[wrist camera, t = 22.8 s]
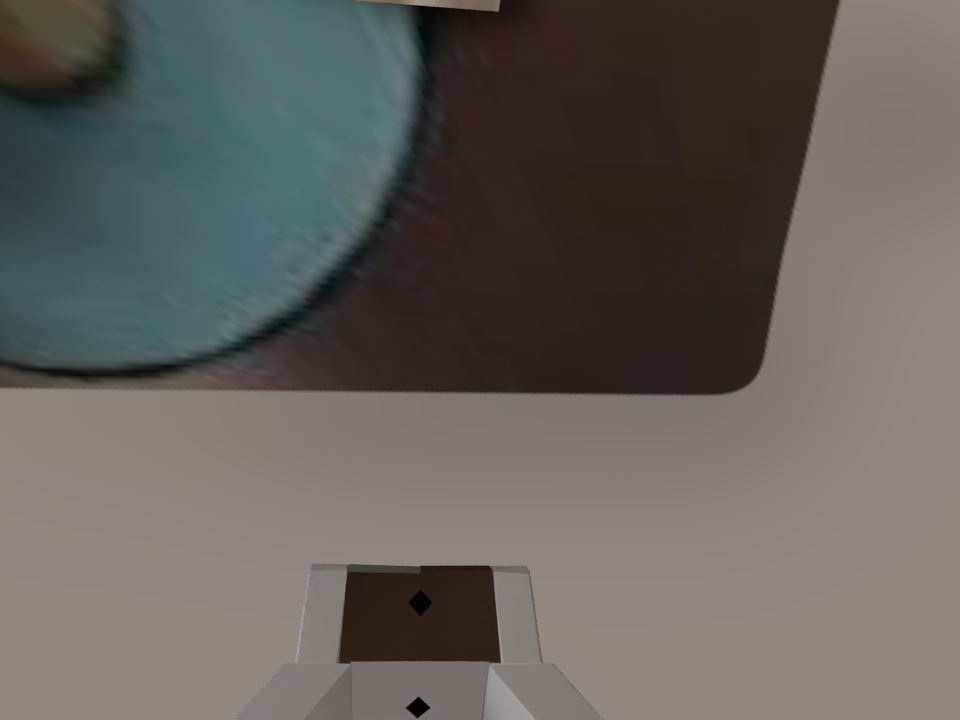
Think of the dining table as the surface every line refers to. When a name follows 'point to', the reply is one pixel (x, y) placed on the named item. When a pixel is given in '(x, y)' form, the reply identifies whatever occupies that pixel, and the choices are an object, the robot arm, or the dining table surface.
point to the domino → (449, 3)
